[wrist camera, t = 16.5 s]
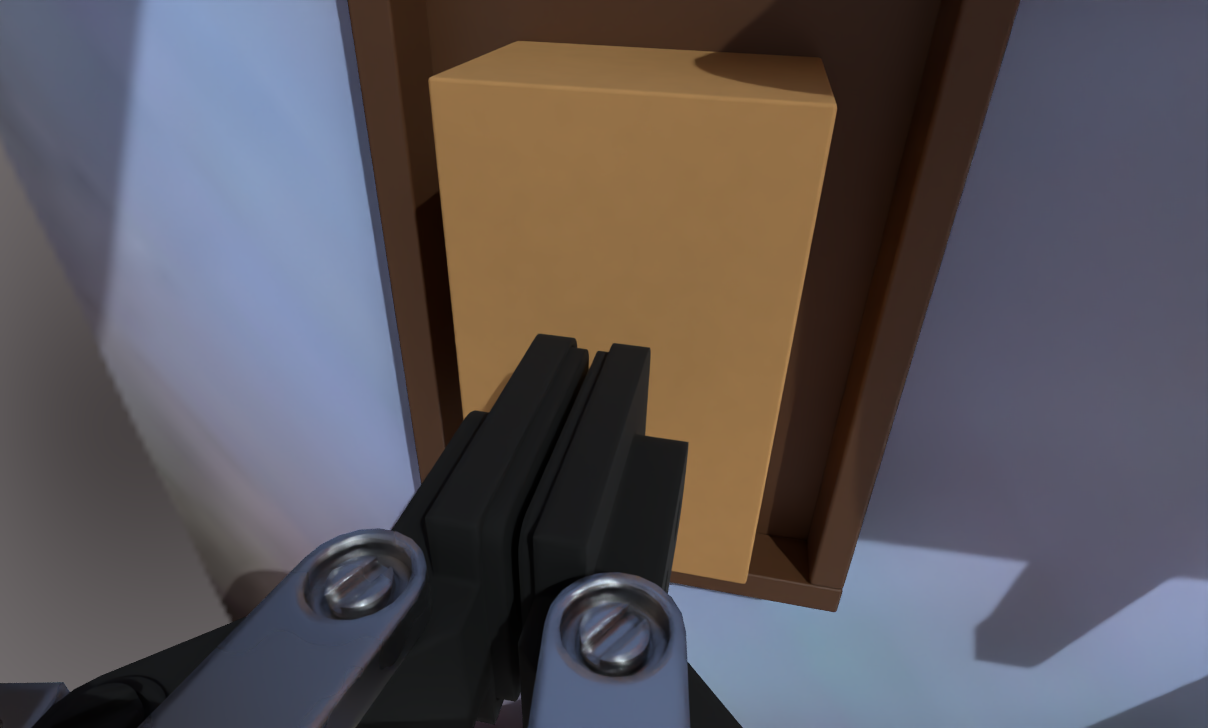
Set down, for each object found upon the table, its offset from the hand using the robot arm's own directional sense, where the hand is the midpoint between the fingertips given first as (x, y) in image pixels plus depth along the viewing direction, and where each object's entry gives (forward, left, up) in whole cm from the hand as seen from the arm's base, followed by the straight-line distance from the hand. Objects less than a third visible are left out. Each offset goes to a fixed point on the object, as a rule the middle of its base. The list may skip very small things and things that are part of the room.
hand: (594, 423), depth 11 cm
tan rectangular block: (0, 0, -5) cm, 5 cm away
